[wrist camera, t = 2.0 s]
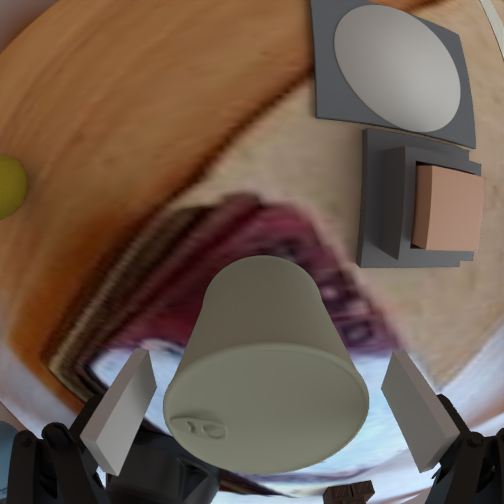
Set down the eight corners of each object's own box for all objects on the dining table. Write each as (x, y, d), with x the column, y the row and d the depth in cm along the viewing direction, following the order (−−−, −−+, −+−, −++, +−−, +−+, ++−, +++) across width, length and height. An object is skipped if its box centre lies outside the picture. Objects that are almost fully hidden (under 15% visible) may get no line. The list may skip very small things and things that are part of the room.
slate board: (316, 118, 18) (317, 116, 17) (308, -7, 15) (309, -11, 14) (472, 148, 18) (476, 148, 17) (455, 36, 15) (459, 34, 14)
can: (198, 255, 20) (134, 346, 9) (324, 253, 20) (397, 339, 9) (208, 360, 23) (180, 477, 11) (316, 357, 23) (350, 472, 11)
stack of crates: (408, 448, 28) (423, 481, 21) (372, 492, 32) (381, 520, 25) (310, 464, 28) (317, 505, 21) (291, 504, 32) (294, 535, 25)
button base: (356, 263, 20) (376, 282, 16) (362, 130, 18) (385, 120, 14) (453, 263, 20) (480, 278, 16) (461, 150, 18) (491, 149, 14)
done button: (400, 237, 18) (426, 250, 14) (404, 166, 17) (432, 165, 13) (450, 240, 18) (478, 251, 14) (455, 175, 16) (485, 177, 13)
